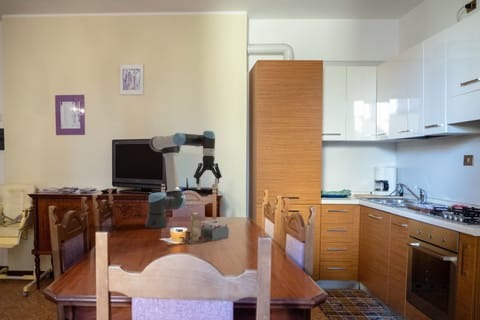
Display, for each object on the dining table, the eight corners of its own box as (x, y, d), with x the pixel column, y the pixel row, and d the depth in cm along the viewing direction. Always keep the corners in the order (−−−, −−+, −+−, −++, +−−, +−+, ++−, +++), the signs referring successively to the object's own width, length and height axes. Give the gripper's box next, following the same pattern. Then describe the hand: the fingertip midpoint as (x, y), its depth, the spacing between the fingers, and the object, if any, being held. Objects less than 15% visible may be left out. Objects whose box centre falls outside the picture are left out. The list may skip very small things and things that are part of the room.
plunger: (210, 229, 188) (210, 225, 188) (215, 228, 191) (215, 224, 191) (214, 230, 185) (214, 226, 185) (219, 229, 188) (219, 225, 188)
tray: (182, 242, 178) (182, 237, 178) (196, 239, 184) (196, 235, 184) (191, 245, 171) (191, 241, 171) (206, 243, 177) (206, 238, 177)
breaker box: (200, 237, 189) (200, 221, 189) (216, 235, 196) (216, 219, 197) (212, 242, 180) (212, 224, 180) (228, 239, 188) (228, 222, 188)
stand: (179, 237, 187) (180, 232, 187) (191, 236, 192) (191, 230, 192) (187, 240, 181) (187, 235, 181) (198, 238, 186) (198, 233, 186)
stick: (190, 241, 177) (191, 212, 177) (195, 240, 180) (196, 212, 180) (193, 242, 175) (194, 213, 175) (198, 241, 177) (199, 213, 177)
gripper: (195, 154, 187) (194, 190, 187) (227, 156, 203) (226, 188, 203) (188, 154, 192) (187, 189, 192) (220, 156, 209) (219, 187, 209)
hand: (207, 189), depth 198 cm, fingers open, 13 cm apart
